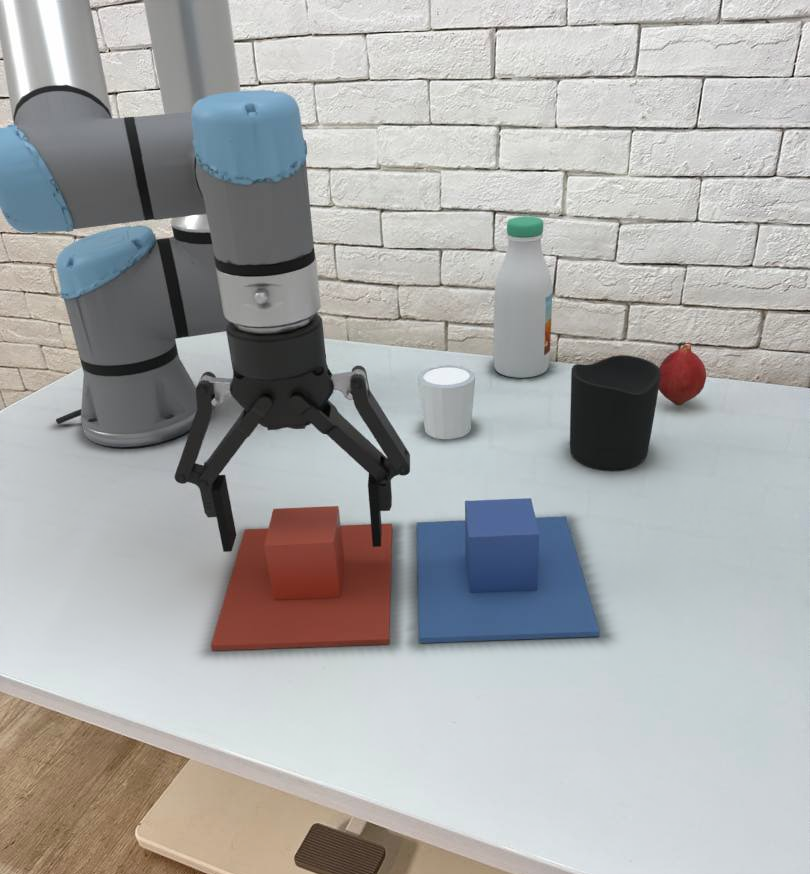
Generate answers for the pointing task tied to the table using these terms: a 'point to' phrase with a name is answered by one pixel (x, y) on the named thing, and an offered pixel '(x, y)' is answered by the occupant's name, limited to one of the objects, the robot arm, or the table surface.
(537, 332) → the milk bottle
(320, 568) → the red block
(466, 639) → the blue mat
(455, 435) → the white cup
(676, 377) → the pomegranate
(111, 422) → the robot arm
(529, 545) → the blue block
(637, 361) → the pen holder
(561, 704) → the table surface
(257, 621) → the red mat
